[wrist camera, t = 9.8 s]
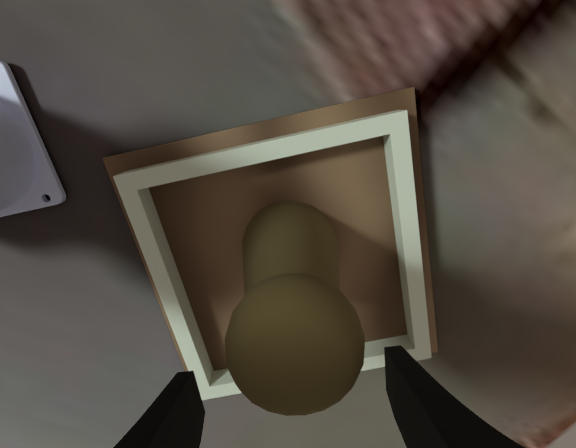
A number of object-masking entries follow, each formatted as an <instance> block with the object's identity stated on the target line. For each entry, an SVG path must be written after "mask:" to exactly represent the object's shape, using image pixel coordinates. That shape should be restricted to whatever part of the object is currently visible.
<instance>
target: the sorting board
mask: <svg viewBox="0 0 576 448" xmlns="http://www.w3.org/2000/svg"><path fill="white" fill-rule="evenodd" d="M395 110H407V113H408V123H409V133H410V143H411V153H412V164H413V174H414V184H415V194H416V204H417V214H418V225H419V235H420V245H421V255H422V265H423V275H424V286H425V296H426V306H427V316H428V326H429V336H430V346H431V353H436V352H438V345H437V334H436V323H435V312H434V301H433V290H432V279H431V268H430V257H429V246H428V234H427V223H426V212H425V201H424V190H423V179H422V168H421V157H420V146H419V135H418V124H417V113H416V102H415V90H414V87H411V88H406V89H402V90H398V91H393V92H389V93H384V94H380V95H376V96H371V97H367V98H363V99H358V100H354V101H349V102H345V103H341V104H336V105H332V106H328V107H323V108H319V109H314V110H310V111H306V112H301V113H297V114H292V115H288V116H284V117H279V118H275V119H271V120H266V121H262V122H257V123H253V124H249V125H244V126H240V127H236V128H231V129H227V130H222V131H218V132H214V133H209V134H205V135H201V136H196V137H192V138H187V139H183V140H179V141H174V142H170V143H166V144H161V145H157V146H152V147H148V148H144V149H139V150H135V151H130V152H126V153H122V154H117V155H113V156H109V157H104V158H102V159H103V162H104V165H105V167H106V170H107V172H108V175H109V177H110V180H111V182H112V185H113V188H114V190H115V193H116V195H117V198H118V200H119V203H120V205H121V208H122V211H123V213H124V216H125V218H126V221H127V223H128V226H129V228H130V231H131V234H132V236H133V239H134V241H135V244H136V246H137V249H138V251H139V254H140V256H141V259H142V262H143V264H144V267H145V269H146V272H147V274H148V277H149V279H150V282H151V285H152V287H153V290H154V292H155V295H156V297H157V300H158V302H159V305H160V308H161V310H162V313H163V315H164V318H165V320H166V323H167V325H168V328H169V331H170V333H171V336H172V338H173V341H174V343H175V346H176V348H177V351H178V354H179V356H180V359H181V361H182V364H183V366H184V369H185V371H188V369H187V366H186V364H185V361H184V359H183V356H182V353H181V351H180V348H179V346H178V343H177V341H176V338H175V335H174V333H173V330H172V328H171V325H170V322H169V320H168V317H167V315H166V312H165V310H164V307H163V304H162V302H161V299H160V297H159V294H158V292H157V289H156V286H155V284H154V281H153V279H152V276H151V274H150V271H149V268H148V266H147V263H146V261H145V258H144V255H143V253H142V250H141V248H140V245H139V243H138V240H137V237H136V235H135V232H134V230H133V227H132V225H131V222H130V219H129V217H128V214H127V212H126V209H125V207H124V204H123V201H122V199H121V196H120V194H119V191H118V188H117V186H116V183H115V181H114V178H113V176H115V175H117V174H120V173H122V172H125V171H129V170H133V169H138V168H142V167H147V166H151V165H155V164H160V163H164V162H169V161H173V160H178V159H182V158H186V157H191V156H195V155H200V154H204V153H209V152H213V151H218V150H222V149H226V148H231V147H235V146H240V145H244V144H249V143H253V142H258V141H262V140H266V139H271V138H275V137H280V136H284V135H289V134H293V133H297V132H302V131H306V130H311V129H315V128H320V127H324V126H329V125H333V124H337V123H342V122H346V121H351V120H355V119H360V118H364V117H369V116H373V115H377V114H382V113H386V112H391V111H395ZM148 188H149V191H150V194H151V196H152V199H153V202H154V205H155V208H156V210H157V213H158V216H159V219H160V222H161V224H162V227H163V230H164V233H165V236H166V238H167V241H168V244H169V247H170V250H171V252H172V255H173V258H174V261H175V264H176V266H177V269H178V272H179V275H180V277H181V280H182V283H183V286H184V289H185V291H186V294H187V297H188V300H189V303H190V305H191V308H192V311H193V314H194V317H195V319H196V322H197V325H198V328H199V331H200V333H201V336H202V339H203V342H204V345H205V347H206V350H207V353H208V356H209V359H210V361H211V364H212V367H213V370H214V371H215V370H221V369H226V368H227V362H226V352H225V340H224V339H225V335H226V332H227V328H228V325H229V321H230V318H231V315H232V312H233V310H234V309H235V308H236V306H237V305H238V304H239V302H240V301H241V300H242V298H243V297H244V272H243V249H242V240H243V236H244V233H245V230H246V227H247V225H248V224H249V223H250V221H251V220H252V218H253V217H254V216H255V215H256V214H257V213H259V212H260V211H261V210H263V209H264V208H266V207H267V206H270V205H273V204H276V203H279V202H293V201H297V202H301V203H304V204H307V205H311V206H313V207H314V208H316V209H317V210H319V211H320V212H322V213H323V214H324V215H325V216H326V217H327V219H328V220H329V221H330V223H331V224H332V225H333V228H334V231H335V234H336V237H337V244H338V261H339V278H340V291H341V292H342V293H343V294H344V295H345V296H346V298H347V299H348V300H349V302H350V303H351V304H352V305H353V307H354V308H355V309H356V311H357V314H358V317H359V319H360V322H361V326H362V329H363V332H364V335H365V342H369V341H375V340H380V339H385V338H391V337H396V336H401V335H406V334H407V327H406V319H405V311H404V303H403V295H402V287H401V279H400V271H399V263H398V254H397V246H396V238H395V230H394V222H393V214H392V206H391V198H390V190H389V181H388V173H387V165H386V157H385V149H384V141H383V136H379V137H374V138H370V139H365V140H361V141H356V142H352V143H347V144H342V145H338V146H333V147H329V148H324V149H320V150H315V151H311V152H306V153H302V154H297V155H293V156H288V157H284V158H279V159H275V160H270V161H266V162H261V163H257V164H252V165H248V166H243V167H239V168H234V169H230V170H225V171H221V172H216V173H212V174H207V175H203V176H198V177H194V178H189V179H185V180H180V181H176V182H171V183H166V184H162V185H157V186H153V187H148Z"/></svg>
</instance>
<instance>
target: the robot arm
mask: <svg viewBox="0 0 576 448" xmlns="http://www.w3.org/2000/svg"><path fill="white" fill-rule="evenodd" d="M46 194H47V195H49V196H50V199H51V200H50V201H49V200H48V199H47V198H46ZM65 200H66V194H65V191H64V189H63V187H62V184H61V182H60V180H59V178H58V175H57V173H56V171H55V169H54V166H53V164H52V162H51V159H50V157H49V155H48V153H47V150H46V148H45V146H44V144H43V141H42V139H41V137H40V135H39V132H38V130H37V128H36V125H35V123H34V121H33V119H32V116H31V114H30V112H29V110H28V107H27V105H26V103H25V101H24V98H23V96H22V94H21V91H20V89H19V87H18V85H17V82H16V80H15V78H14V76H13V73H12V71H11V69H10V67H9V65H8V64H7V63H5V62H4V61H1V60H0V217H3V216H8V215H12V214H17V213H21V212H26V211H30V210H35V209H39V208H44V207H48V206H53V205H57V204H60V203H62V202H64V201H65ZM384 355H385V373H386V391H387V394H388V398H389V401H390V404H391V408H392V411H393V414H394V417H395V420H396V423H397V425H398V427H399V430H400V432H401V435H402V437H403V440H404V442H405V444H406V447H407V448H524V447H522V446H521V445H519V444H517V443H516V442H514V441H513V440H511V439H510V438H508V437H506V436H505V435H503V434H502V433H500V432H499V431H498V430H496V429H495V428H493V427H492V426H490V425H489V424H488V423H486V422H485V421H484V420H482V419H481V418H480V417H478V416H477V415H476V414H474V413H473V412H472V411H471V410H469V409H468V408H467V407H466V406H464V405H463V404H462V403H461V402H460V401H458V400H457V399H456V398H455V397H454V396H453V395H451V394H450V393H449V392H448V391H447V390H446V389H445V388H444V387H442V386H441V385H440V384H439V383H438V382H437V381H436V380H435V379H434V378H433V377H432V376H431V375H430V374H429V373H428V372H427V371H426V370H425V369H424V368H423V367H422V366H421V365H420V364H419V363H418V362H417V361H416V360H415V359H414V358H413V357H412V356H411V355H410V354H409V353H408V352H407V351H406V350H405V349H404V348H403V347H402V346H401V345H399V346H390V347H384ZM204 416H205V410H204V406H203V403H202V399H201V396H200V392H199V389H198V385H197V382H196V378H195V374H194V371H186V372H178V373H177V374H176V375H175V376H174V377H173V379H172V380H171V381H170V382H169V384H168V385H167V386H166V387H165V389H164V390H163V391H162V392H161V393H160V395H159V396H158V397H157V398H156V400H155V401H154V402H153V403H152V405H151V406H150V407H149V408H148V409H147V411H146V412H145V413H144V414H143V415H142V417H141V418H140V419H139V420H138V421H137V422H136V424H135V425H134V426H133V427H132V428H131V429H130V430H129V431H128V432H127V434H126V435H125V436H124V437H123V438H122V439H121V440H120V441H119V442H118V443H117V445H116V446H115V447H114V448H199V446H200V442H201V436H202V430H203V423H204Z"/></svg>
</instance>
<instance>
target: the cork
mask: <svg viewBox="0 0 576 448" xmlns="http://www.w3.org/2000/svg"><path fill="white" fill-rule="evenodd" d="M242 249H243V272H244V297H243V298H242V300H241V301H240V302H239V304H238V305H237V306H236V308H235V309H234V310H233V312H232V315H231V318H230V321H229V325H228V328H227V332H226V335H225V339H224V340H225V352H226V362H227V368H228V370H229V372H230V374H231V376H232V378H233V380H234V382H235V384H236V386H237V387H238V388H239V390H240V391H241V392H242V393H243V394H244V395H245V396H246V397H247V398H248V399H249V400H250V401H251V402H252V403H253V404H255V405H257V406H259V407H261V408H263V409H265V410H267V411H269V412H273V413H278V414H282V415H286V416H289V415H308V414H312V413H315V412H319V411H323V410H325V409H327V408H329V407H330V406H332V405H334V404H336V403H337V402H339V401H340V400H341V399H342V398H343V397H344V396H345V395H346V394H347V393H348V392H349V391H350V390H351V389H352V387H353V385H354V383H355V382H356V380H357V377H358V375H359V373H360V371H361V369H362V367H363V364H364V350H365V335H364V332H363V329H362V326H361V322H360V319H359V317H358V314H357V311H356V309H355V308H354V307H353V305H352V304H351V303H350V302H349V300H348V299H347V298H346V296H345V295H344V294H343V293H342V292H341V291H340V278H339V261H338V244H337V237H336V234H335V231H334V228H333V225H332V224H331V223H330V221H329V220H328V219H327V217H326V216H325V215H324V214H323V213H322V212H320V211H319V210H317V209H316V208H314V207H313V206H311V205H307V204H304V203H301V202H297V201H293V202H279V203H276V204H273V205H270V206H267V207H266V208H264V209H263V210H261V211H260V212H259V213H257V214H256V215H255V216H254V217H253V218H252V220H251V221H250V223H249V224H248V225H247V227H246V230H245V233H244V236H243V240H242Z"/></svg>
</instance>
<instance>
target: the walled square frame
mask: <svg viewBox="0 0 576 448" xmlns="http://www.w3.org/2000/svg"><path fill="white" fill-rule="evenodd" d="M379 136H383V141H384V149H385V157H386V165H387V173H388V181H389V190H390V198H391V206H392V214H393V222H394V230H395V238H396V246H397V254H398V263H399V271H400V279H401V287H402V295H403V303H404V311H405V319H406V327H407V334H406V335H401V336H396V337H391V338H385V339H380V340H375V341H369V342H365V350H364V364H363V367H362V369H361V371H364V370H369V369H375V368H380V367H385V355H384V347H390V346H399V345H401V346H402V347H403V348H404V349H405V350H406V351H407V352H408V353H409V354H410V355H411V356H412V357H413V358H414V359H415V360H416V361H418V360H424V359H429V358H432V357H431V346H430V336H429V326H428V316H427V306H426V296H425V286H424V275H423V265H422V255H421V245H420V235H419V225H418V214H417V204H416V194H415V184H414V174H413V164H412V153H411V143H410V133H409V123H408V113H407V110H395V111H391V112H386V113H382V114H377V115H373V116H369V117H364V118H360V119H355V120H351V121H346V122H342V123H337V124H333V125H329V126H324V127H320V128H315V129H311V130H306V131H302V132H297V133H293V134H289V135H284V136H280V137H275V138H271V139H266V140H262V141H258V142H253V143H249V144H244V145H240V146H235V147H231V148H226V149H222V150H218V151H213V152H209V153H204V154H200V155H195V156H191V157H186V158H182V159H178V160H173V161H169V162H164V163H160V164H155V165H151V166H147V167H142V168H138V169H133V170H129V171H125V172H122V173H120V174H117V175H115V176H113V178H114V181H115V183H116V186H117V188H118V191H119V194H120V196H121V199H122V201H123V204H124V207H125V209H126V212H127V214H128V217H129V219H130V222H131V225H132V227H133V230H134V232H135V235H136V237H137V240H138V243H139V245H140V248H141V250H142V253H143V255H144V258H145V261H146V263H147V266H148V268H149V271H150V274H151V276H152V279H153V281H154V284H155V286H156V289H157V292H158V294H159V297H160V299H161V302H162V304H163V307H164V310H165V312H166V315H167V317H168V320H169V322H170V325H171V328H172V330H173V333H174V335H175V338H176V341H177V343H178V346H179V348H180V351H181V353H182V356H183V359H184V361H185V364H186V366H187V369H188V371H194V374H195V378H196V382H197V385H198V389H199V392H200V396H201V399H202V400H206V399H211V398H217V397H222V396H228V395H233V394H239V393H242V392H241V391H240V390H239V388H238V387H237V386H236V384H235V382H234V380H233V378H232V376H231V374H230V372H229V370H228V368H226V369H221V370H215V371H214V370H213V367H212V364H211V361H210V359H209V356H208V353H207V350H206V347H205V345H204V342H203V339H202V336H201V333H200V331H199V328H198V325H197V322H196V319H195V317H194V314H193V311H192V308H191V305H190V303H189V300H188V297H187V294H186V291H185V289H184V286H183V283H182V280H181V277H180V275H179V272H178V269H177V266H176V264H175V261H174V258H173V255H172V252H171V250H170V247H169V244H168V241H167V238H166V236H165V233H164V230H163V227H162V224H161V222H160V219H159V216H158V213H157V210H156V208H155V205H154V202H153V199H152V196H151V194H150V191H149V188H148V187H153V186H157V185H162V184H166V183H171V182H176V181H180V180H185V179H189V178H194V177H198V176H203V175H207V174H212V173H216V172H221V171H225V170H230V169H234V168H239V167H243V166H248V165H252V164H257V163H261V162H266V161H270V160H275V159H279V158H284V157H288V156H293V155H297V154H302V153H306V152H311V151H315V150H320V149H324V148H329V147H333V146H338V145H342V144H347V143H352V142H356V141H361V140H365V139H370V138H374V137H379Z"/></svg>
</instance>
